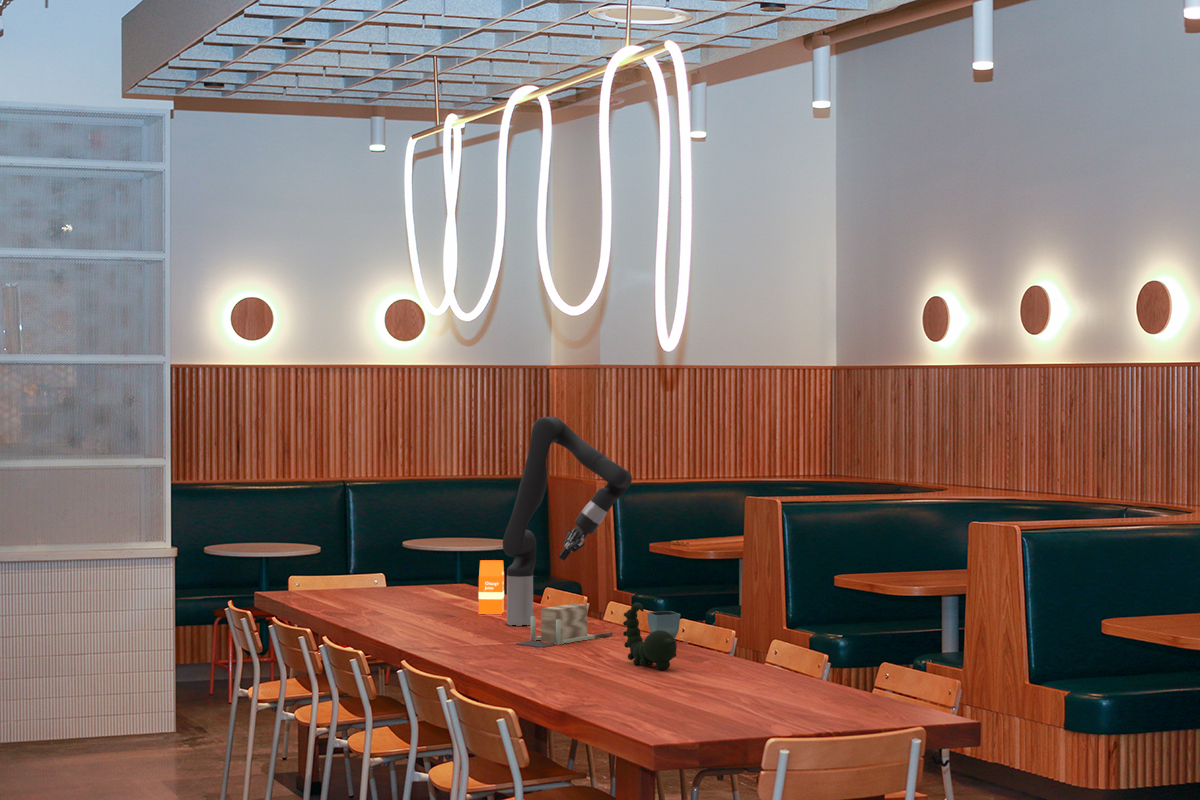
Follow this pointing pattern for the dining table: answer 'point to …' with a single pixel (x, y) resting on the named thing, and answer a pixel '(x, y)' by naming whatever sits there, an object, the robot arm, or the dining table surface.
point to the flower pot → (664, 622)
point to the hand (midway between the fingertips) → (561, 558)
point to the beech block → (563, 622)
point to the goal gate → (558, 633)
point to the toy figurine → (648, 642)
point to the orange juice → (491, 587)
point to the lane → (603, 634)
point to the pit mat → (535, 644)
